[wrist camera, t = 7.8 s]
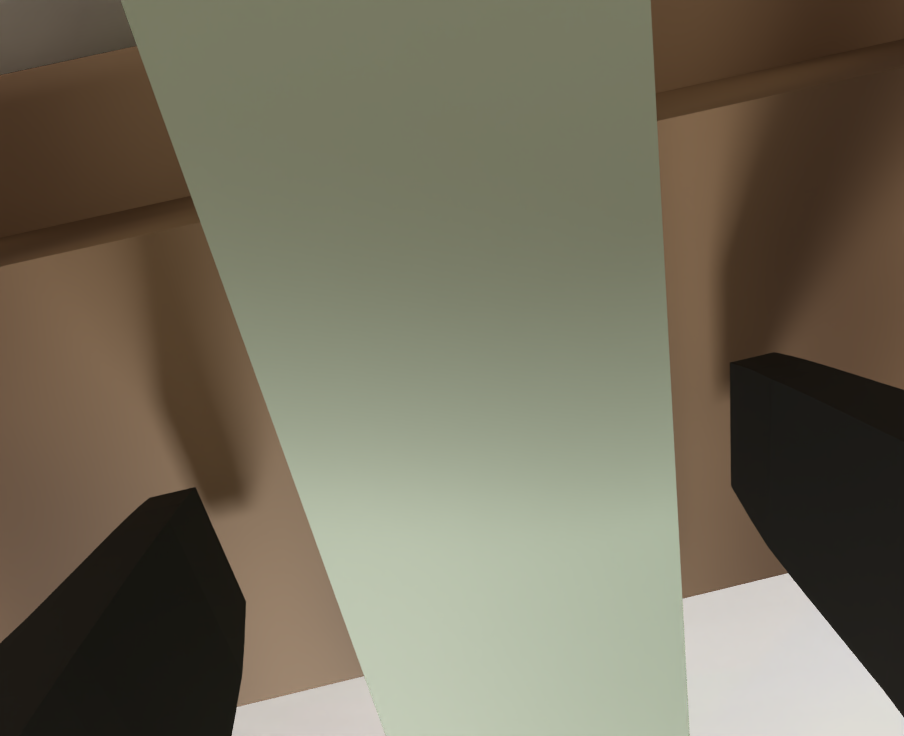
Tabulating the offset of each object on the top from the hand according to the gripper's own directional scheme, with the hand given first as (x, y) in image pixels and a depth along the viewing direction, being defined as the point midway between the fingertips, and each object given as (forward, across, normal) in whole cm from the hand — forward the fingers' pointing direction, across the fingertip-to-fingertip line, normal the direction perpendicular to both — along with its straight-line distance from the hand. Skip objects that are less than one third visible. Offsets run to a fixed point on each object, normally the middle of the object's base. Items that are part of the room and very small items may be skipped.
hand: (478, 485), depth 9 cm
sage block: (+3, 0, 0) cm, 3 cm away
